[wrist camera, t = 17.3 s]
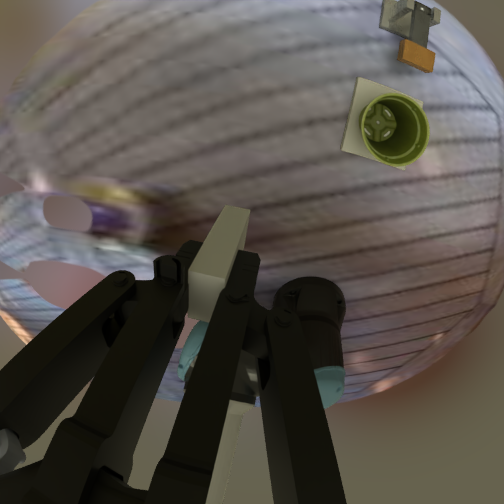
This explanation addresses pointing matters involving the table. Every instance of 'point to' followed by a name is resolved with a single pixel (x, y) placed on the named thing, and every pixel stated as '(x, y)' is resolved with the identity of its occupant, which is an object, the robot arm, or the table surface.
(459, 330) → the table surface
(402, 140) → the plant pot
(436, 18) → the lever stand
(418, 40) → the press lever
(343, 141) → the plate
